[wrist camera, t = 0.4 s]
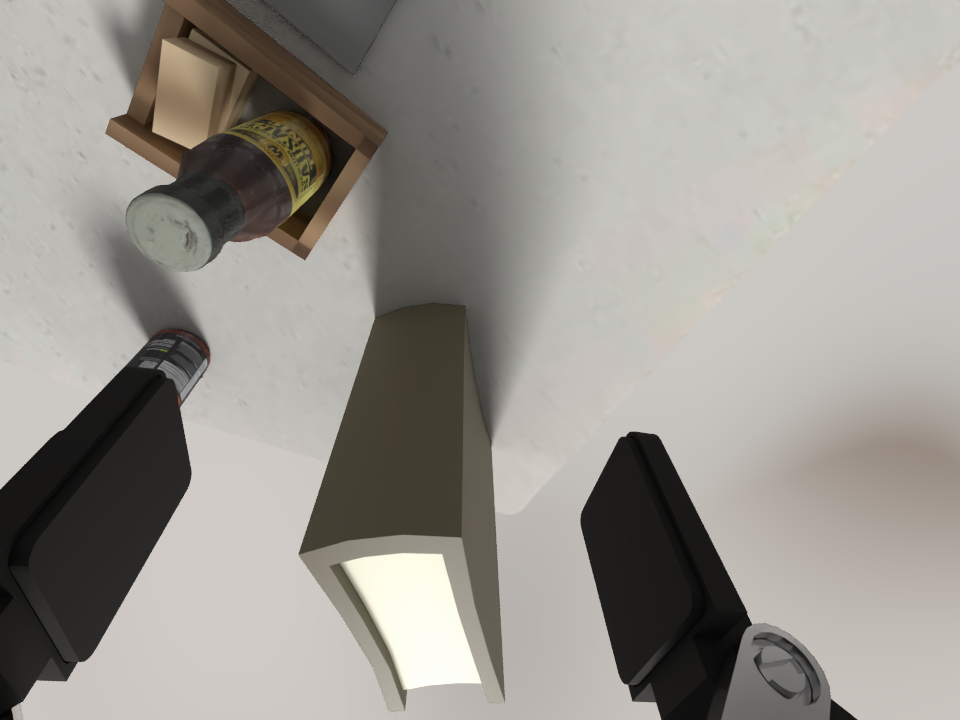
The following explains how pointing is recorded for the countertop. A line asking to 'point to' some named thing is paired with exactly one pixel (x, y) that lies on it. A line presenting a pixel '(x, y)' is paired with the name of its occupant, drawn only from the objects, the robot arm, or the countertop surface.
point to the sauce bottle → (231, 190)
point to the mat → (337, 25)
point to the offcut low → (242, 79)
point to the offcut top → (191, 92)
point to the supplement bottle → (175, 359)
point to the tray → (205, 8)
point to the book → (413, 511)
